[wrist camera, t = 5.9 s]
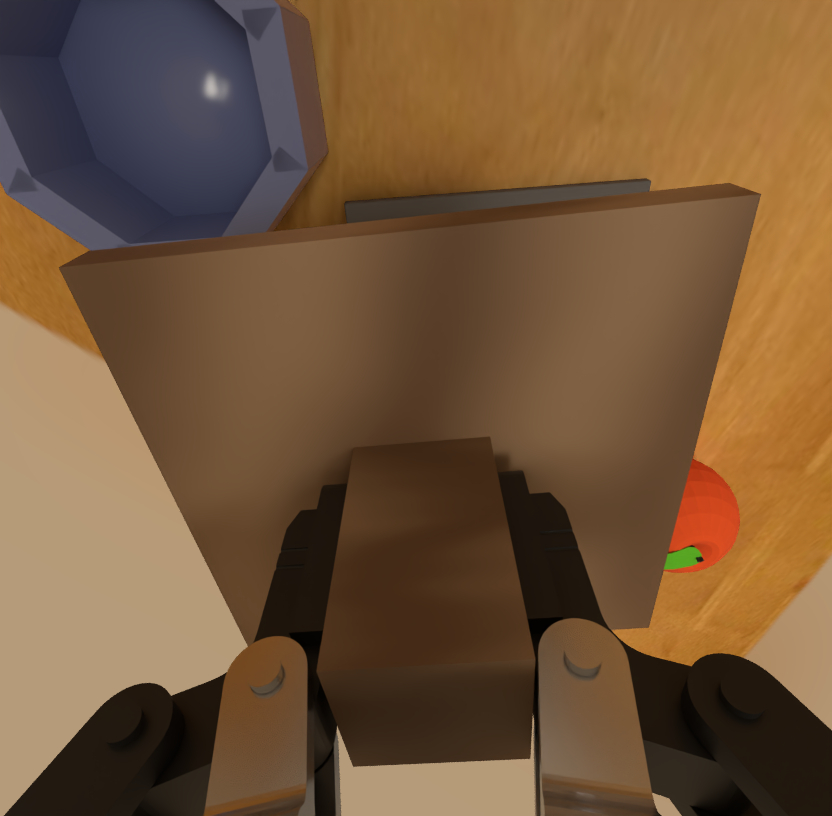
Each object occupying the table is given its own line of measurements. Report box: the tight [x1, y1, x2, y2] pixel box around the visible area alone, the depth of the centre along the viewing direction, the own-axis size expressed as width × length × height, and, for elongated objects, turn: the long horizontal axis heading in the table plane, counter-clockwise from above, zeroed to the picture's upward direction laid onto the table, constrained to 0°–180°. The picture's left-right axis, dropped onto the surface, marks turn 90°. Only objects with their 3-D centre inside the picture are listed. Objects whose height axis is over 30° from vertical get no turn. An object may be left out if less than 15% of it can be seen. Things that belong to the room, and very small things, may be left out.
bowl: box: [0, 0, 328, 251], centre depth 19 cm, size 11×11×6 cm
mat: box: [344, 179, 651, 224], centre depth 27 cm, size 14×13×1 cm
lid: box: [59, 183, 761, 767], centre depth 10 cm, size 12×12×6 cm
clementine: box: [663, 459, 740, 573], centre depth 30 cm, size 8×7×7 cm
